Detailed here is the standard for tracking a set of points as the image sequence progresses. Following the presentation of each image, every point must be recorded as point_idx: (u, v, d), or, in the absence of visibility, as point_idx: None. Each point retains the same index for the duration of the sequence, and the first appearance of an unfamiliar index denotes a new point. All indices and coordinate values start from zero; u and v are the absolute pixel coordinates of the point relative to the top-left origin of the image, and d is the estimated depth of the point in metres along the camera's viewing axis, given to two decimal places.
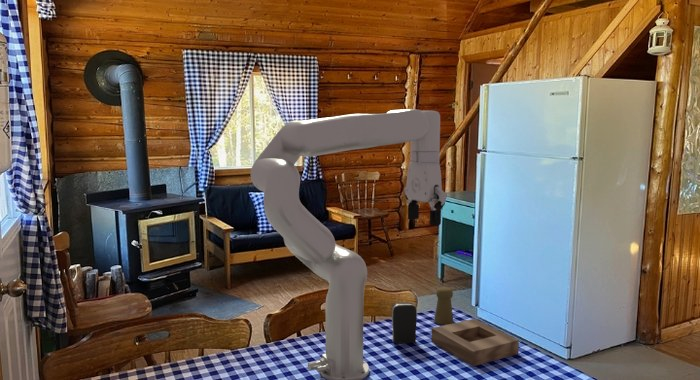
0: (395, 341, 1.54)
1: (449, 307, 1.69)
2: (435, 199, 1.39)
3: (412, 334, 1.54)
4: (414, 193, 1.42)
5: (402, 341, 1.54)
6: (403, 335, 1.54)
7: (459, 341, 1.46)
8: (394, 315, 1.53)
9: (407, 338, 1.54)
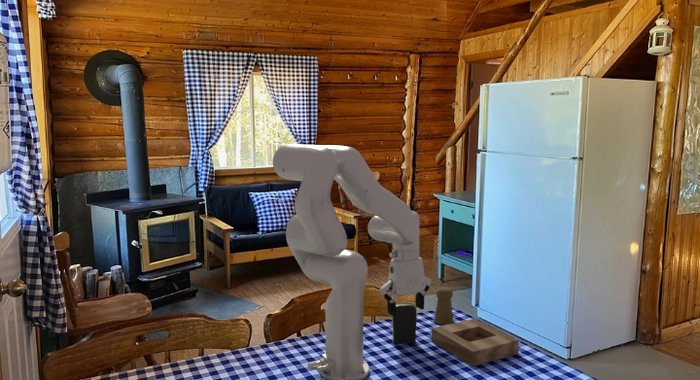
0: (395, 342, 1.54)
1: (449, 307, 1.69)
2: None
3: (412, 335, 1.54)
4: (409, 288, 1.52)
5: (402, 342, 1.54)
6: (403, 336, 1.54)
7: (459, 341, 1.46)
8: None
9: (407, 339, 1.54)
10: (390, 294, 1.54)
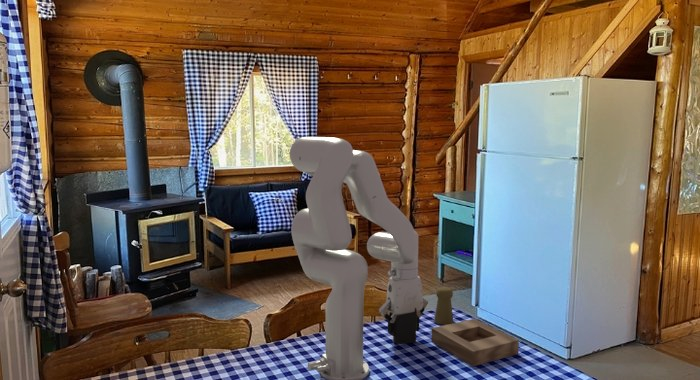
0: (395, 341, 1.54)
1: (449, 307, 1.69)
2: None
3: (412, 334, 1.54)
4: (407, 307, 1.52)
5: (402, 341, 1.54)
6: (403, 335, 1.54)
7: (459, 341, 1.46)
8: None
9: (407, 338, 1.54)
10: (390, 314, 1.54)
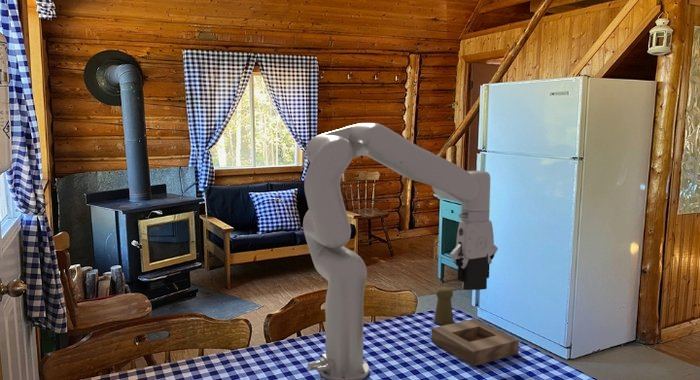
0: (466, 288, 1.48)
1: (449, 307, 1.69)
2: None
3: (483, 280, 1.48)
4: (479, 251, 1.46)
5: (473, 288, 1.48)
6: (474, 281, 1.48)
7: (459, 341, 1.46)
8: None
9: (478, 284, 1.48)
10: (460, 259, 1.47)
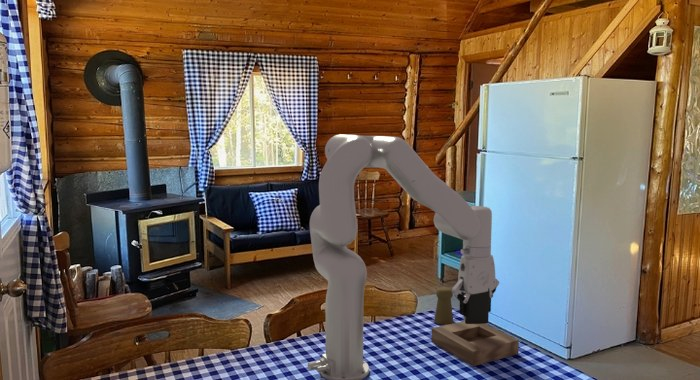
0: (467, 322, 1.49)
1: (449, 307, 1.69)
2: None
3: (485, 314, 1.49)
4: (481, 286, 1.47)
5: (475, 322, 1.49)
6: (476, 315, 1.49)
7: (459, 341, 1.46)
8: None
9: (480, 319, 1.49)
10: (462, 294, 1.49)
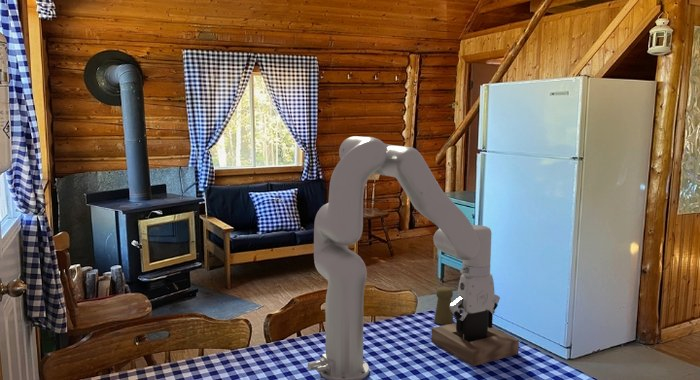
0: None
1: None
2: None
3: (483, 337, 1.50)
4: (480, 306, 1.47)
5: None
6: (474, 338, 1.49)
7: (459, 341, 1.46)
8: (465, 317, 1.48)
9: None
10: (459, 311, 1.49)
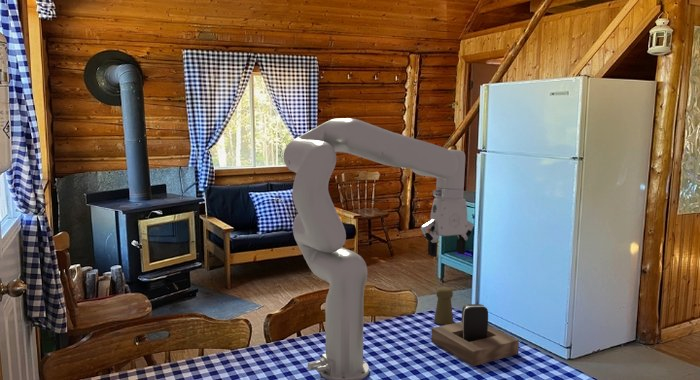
0: None
1: (449, 307, 1.69)
2: None
3: (483, 337, 1.50)
4: (452, 229, 1.48)
5: None
6: (474, 338, 1.49)
7: (459, 341, 1.46)
8: (465, 317, 1.49)
9: None
10: (431, 235, 1.50)
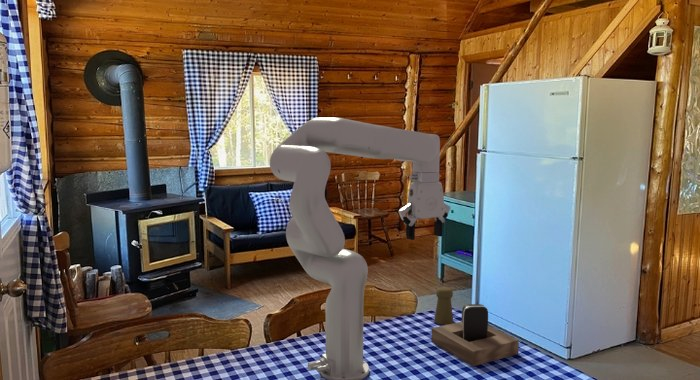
0: None
1: (449, 307, 1.69)
2: None
3: (483, 337, 1.50)
4: (429, 212, 1.50)
5: None
6: (474, 338, 1.49)
7: (459, 341, 1.46)
8: (465, 317, 1.49)
9: None
10: (409, 218, 1.52)
